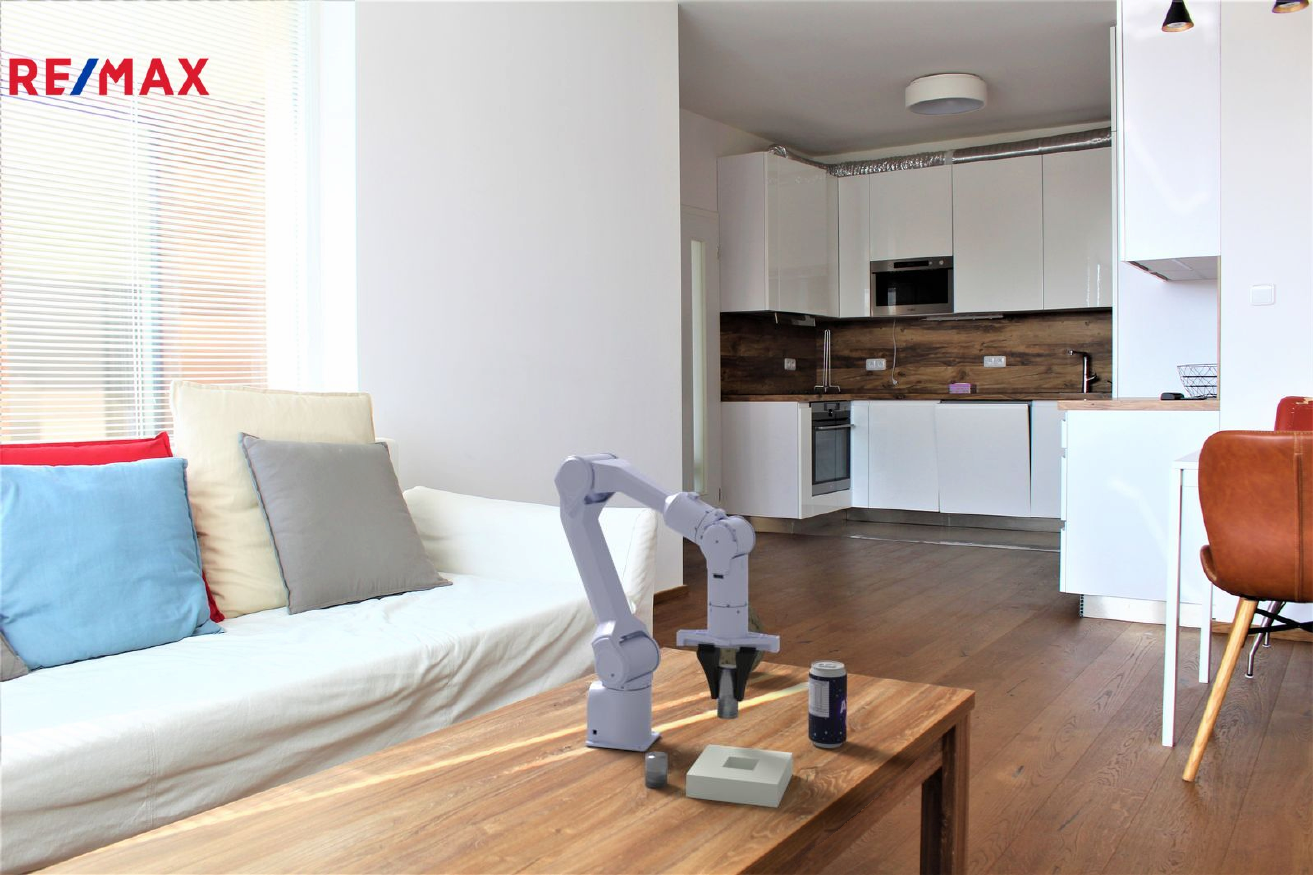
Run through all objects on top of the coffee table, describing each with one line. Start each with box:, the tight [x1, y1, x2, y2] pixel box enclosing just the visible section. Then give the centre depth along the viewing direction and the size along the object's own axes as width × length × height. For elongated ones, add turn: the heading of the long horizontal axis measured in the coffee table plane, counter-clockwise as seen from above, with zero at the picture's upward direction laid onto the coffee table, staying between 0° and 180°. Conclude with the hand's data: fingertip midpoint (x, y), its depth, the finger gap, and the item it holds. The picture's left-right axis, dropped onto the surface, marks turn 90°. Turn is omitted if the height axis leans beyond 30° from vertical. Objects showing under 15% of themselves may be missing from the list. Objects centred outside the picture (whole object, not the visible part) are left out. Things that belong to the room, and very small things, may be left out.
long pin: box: [716, 664, 739, 720], centre depth 146 cm, size 3×3×7 cm
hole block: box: [685, 744, 794, 808], centre depth 139 cm, size 12×12×3 cm
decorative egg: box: [719, 601, 766, 675], centre depth 192 cm, size 11×11×15 cm
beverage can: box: [807, 660, 848, 749], centre depth 155 cm, size 6×6×12 cm
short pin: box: [644, 751, 668, 790], centre depth 139 cm, size 3×3×4 cm
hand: (727, 698), depth 146 cm, fingers closed on long pin, 3 cm apart
